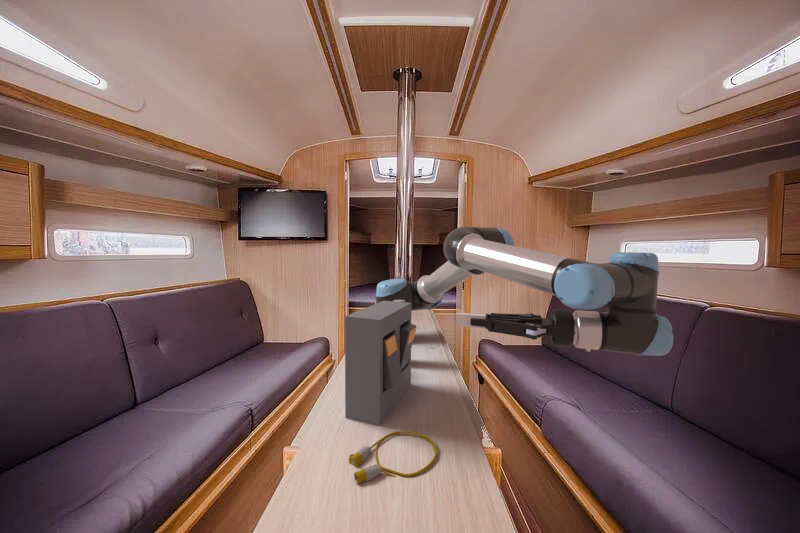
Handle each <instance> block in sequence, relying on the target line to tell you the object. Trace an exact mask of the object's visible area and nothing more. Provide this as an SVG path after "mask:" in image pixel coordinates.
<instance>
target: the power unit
mask: <svg viewBox="0 0 800 533" xmlns="http://www.w3.org/2000/svg"><path fill="white" fill-rule="evenodd" d="M412 313H413V311H412V303H408V302H395V301H381V302H379V303H377V304H376V303H373V304H372V305H369V306H367V307H365V308H362V309H359V310H357V311H355V312H353V313H349V314H347V315H345V316H344V342H345V343H344V353H345V354H344V362H345V363H344V365H345V367H344V371H345V372H344V376H345V377H344V378H345V379H344V382H345V383H344V386H345V388H344V389H345V394H344V396H345V397H344V399H345V401H344V402H345V404H344V405H345V406H344V407H345V411H344V412H345V417H344V418H345V419H350V420H354V421H358V422H362V423H366V424H371V425H374V426H381V425H382V423H383V422H384V420H386V418H387V416H389V414H390V413H391V412H392V410H393V409H394V408H395V406H396V405H397V404H398V402H399V401H400V400H401V398H402V397H403V395H405V393H406V391H407V390H408V389H409V388H410V386H411V385H412V381H411V380H412V351H411V352H410V357H409V361H408V363H407V364H406V365H405V366H404V367H403V368H402V369H401V372H402V378H401V379H400V381H399V382H398V383H397V384H396V385H395V386H394V388H393V389H384V387H383V337H384V336H386V335H387V334H393V333H394V335H395V339H396V344H397V350H398V356H399V361H400V331H401V329H402V328H403V327H404V326H406V325H407V324H409V323H410V324H412Z"/></svg>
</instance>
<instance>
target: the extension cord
mask: <svg viewBox="0 0 800 533" xmlns="http://www.w3.org/2000/svg"><path fill="white" fill-rule="evenodd" d="M392 436H393V437H394V436H408V437H415V438H420V439H422V440H424V441H426V442H428V443H430V445H431V446H432V448H433V451H434V456H433V457H432V459H431V461H429V463H428V464H427V465H425V466H424V467H423V468H421V469H419V470H417V471H415V472H411V473H403V472H399V471H396V470H393V469H390V468H387V467H384V466H382V465H381V464H380V462H379V459H378V448H379V446H380V444H381V443H382V442H383V441H384V440H385V439H387V438H389V437H392ZM374 447H375V452H374V457H375V458H374V459H375V462H376V464H374V465H371V464H370V465H369V466H367V467H364V468H362V469H361V470H358V471H355V472H354V475H353V476H354V481H356V485H360V484H361V483H362V482H365V483H367V482H369V481H371V480H372V479H374V478H376V477H378V476H379V475H381V474H382V473H383V474H385V475H387V476H389V477H392V478H397V476H396V475H399V476H402V477H415V476H419V475H420V474H421V473H424V472H425V471H427V470H428V469H430V468H431V467H432V466H433V465H434V464H435V463H436V460H437V454H438V446H437V444H436V442H435V441H434V440H433V439H431V438H430V437H429V436H427V435H425V434H423V433H421V432H416V431H412V430H411V431H409V430H399V431H393V432H390V433H387V434H386V435H384V436H382V437H381V438H379V439H378V440H377V441H375V443H373V444H372V445H371V446H369V445H368V446H363V447H362V448H359V450H358V451H357V452H355V453H352V454H349V457H348V464H350V465H352V466H353V467H355V468H358V467H359V466H360V465H361V464H362V463H363V462H364V461H365V460H366V459H367V458H368V456H369V455H370V453H372V449H373V448H374ZM394 474H395V475H394Z"/></svg>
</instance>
